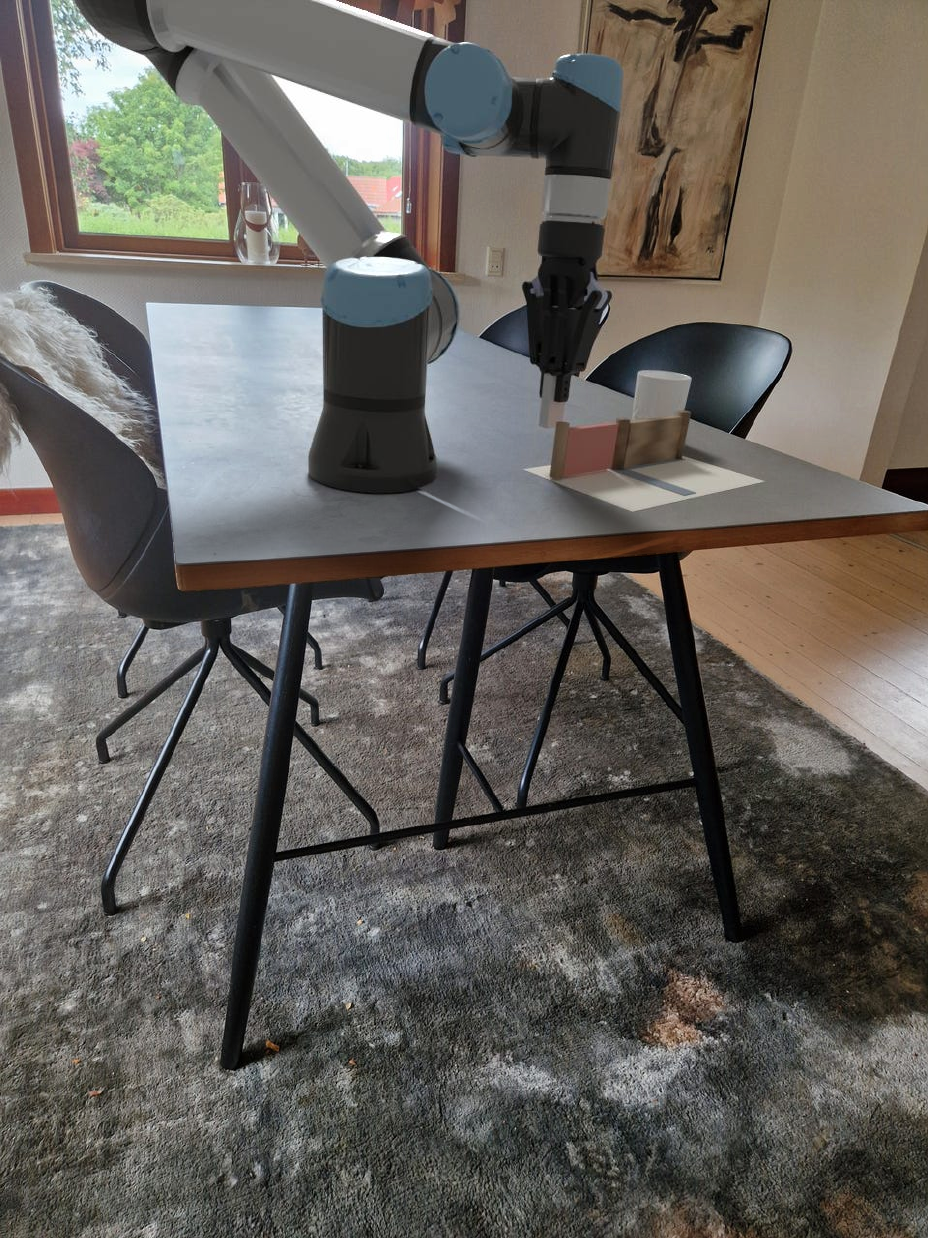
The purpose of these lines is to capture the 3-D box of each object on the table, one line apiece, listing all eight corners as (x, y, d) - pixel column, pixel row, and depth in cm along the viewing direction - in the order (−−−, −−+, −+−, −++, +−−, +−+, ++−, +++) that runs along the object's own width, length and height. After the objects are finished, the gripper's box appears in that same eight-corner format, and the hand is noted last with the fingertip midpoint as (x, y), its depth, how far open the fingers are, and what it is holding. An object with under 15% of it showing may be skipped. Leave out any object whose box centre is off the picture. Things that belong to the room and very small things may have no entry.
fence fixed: (615, 471, 102) (624, 421, 99) (605, 467, 103) (613, 418, 101) (684, 459, 111) (693, 412, 108) (674, 455, 112) (683, 409, 109)
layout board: (631, 515, 88) (632, 510, 88) (522, 472, 100) (522, 468, 100) (764, 484, 104) (765, 480, 103) (656, 450, 116) (657, 447, 116)
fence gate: (555, 479, 96) (563, 425, 93) (546, 475, 97) (553, 422, 94) (613, 469, 102) (621, 418, 99) (603, 466, 103) (611, 415, 100)
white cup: (639, 433, 126) (650, 368, 121) (686, 443, 122) (699, 376, 117) (618, 440, 120) (629, 373, 115) (666, 451, 116) (680, 381, 112)
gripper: (638, 224, 88) (608, 434, 99) (556, 220, 97) (536, 413, 107) (592, 220, 84) (566, 440, 94) (511, 216, 93) (495, 418, 103)
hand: (550, 426), depth 101 cm, fingers closed
